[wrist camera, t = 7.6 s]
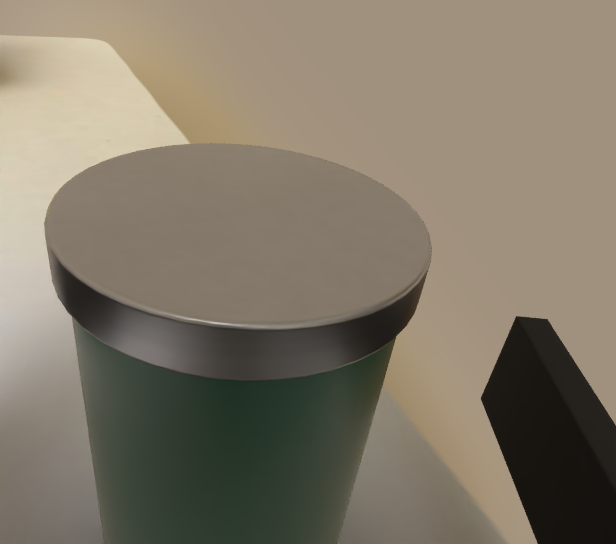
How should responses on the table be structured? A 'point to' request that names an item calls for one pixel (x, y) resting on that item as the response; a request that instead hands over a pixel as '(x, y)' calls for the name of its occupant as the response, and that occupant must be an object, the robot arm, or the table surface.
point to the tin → (231, 335)
